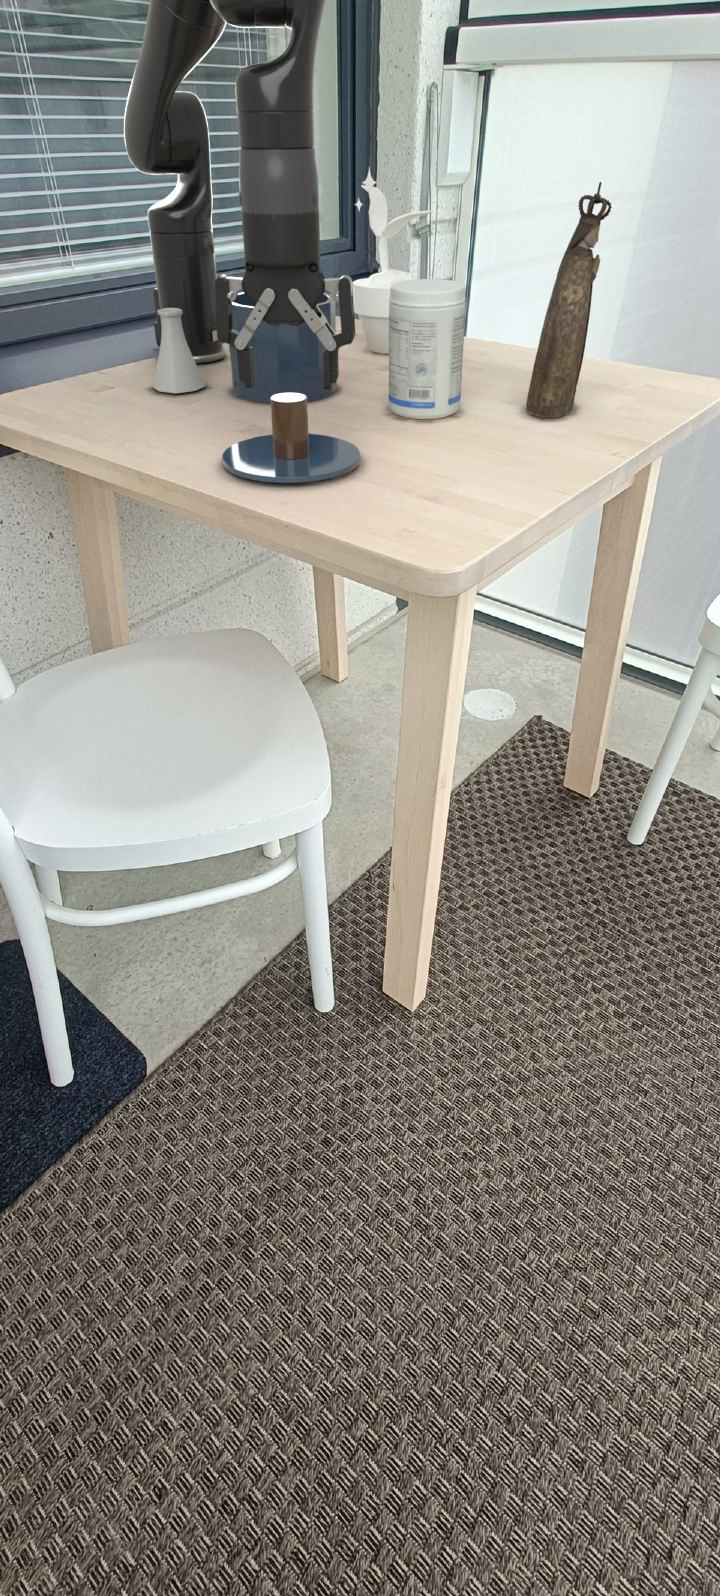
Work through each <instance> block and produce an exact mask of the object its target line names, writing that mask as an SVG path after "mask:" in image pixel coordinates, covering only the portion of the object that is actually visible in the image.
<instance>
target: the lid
mask: <svg viewBox="0 0 720 1596" xmlns="http://www.w3.org/2000/svg"><path fill="white" fill-rule="evenodd" d="M270 401H271V403H270V415H271V432H272V434H266V435H265V434H264V435H260V436H254V437H251V438H247V439H244V440H241V441H237V442H236V443H234V444H232V445H230V446H228V447H226V448H225V450H224V451H223V452H222V456H221V457H222V458H221V460H222V465H223V467H224V469H226V470H227V471H228V472H230V473H231V474H233V475H235V476H238V477H241V478H244V479H247V480H252V481H258V482H264V483H276V484H296V483H308V482H309V483H310V482H317V481H324V480H328V479H332V478H335V477H339V476H342V475H344V474H347V473H349V472H351V471H353V470H354V469H355V468H357V467H358V465H359V464H360V462H361V451H360V449H359V448H358V447H357V446H356V445H355V444H353V443H352V442H350V441H348V440H345V439H342V438H339V437H335V436H330V435H325V434H316V433H309V416H308V415H309V413H308V412H309V411H308V402H307V396H306V395H303V394H300V393H280V394H275V395H273V396H271V398H270Z"/></svg>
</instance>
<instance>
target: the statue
mask: <svg viewBox="0 0 720 1596" xmlns="http://www.w3.org/2000/svg"><path fill="white" fill-rule="evenodd" d="M602 184H603V183H602V181H600V182H599V183H598V187H597V191H596V193H594V194H593V195H591V194H584V195H583V196H581V197H580V199H579V200H578V204H577V206H578V211H579V215H580V218H579V220H578V223H577V226H576V227H575V230H574V232H573V234H572V236H571V238H570V239H569V243H568V245H567V247H566V249H565V252H564V254H563V256H562V259H561V262H560V264H559V267H558V271H557V273H556V278H555V281H554V284H553V287H552V291H551V295H550V298H549V302H548V306H547V309H546V313H545V316H544V320H543V323H542V324H543V325H542V329H541V332H540V337H539V340H538V341H539V342H538V346H537V351H536V353H535V359H534V363H533V367H532V368H533V369H532V373H531V378H530V382H529V387H528V393H527V398H526V402H525V403H526V404H525V407H526V409H525V410H526V411H527V412H528V413H530V414H531V415H533V416H537V417H540V418H549V419H550V418H551V419H552V418H553V419H554V418H562V417H563V416H564V417H565V416H567V415H569V413H572V410H573V406H574V404H575V396H576V393H577V386H578V384H579V383H578V382H579V379H580V374H581V370H582V366H583V360H584V355H585V350H586V343H587V336H588V330H589V322H590V317H591V306H592V296H593V285H594V281H595V279H596V278H597V273H598V272H599V268H600V265H601V259H600V254H598V253H597V254H596V255H595V257H594V253H593V249H594V248H595V246H596V244H597V243H599V233H600V228H601V221H603V220H605V218H606V217H609V215H610V213H611V209H612V203H611V202H610V200H609V199H608V200H607V198H605V197H602V195H601V193H600V192H601V187H602ZM585 200H588V203H587V209H586V212H585V211H584V201H585ZM599 204H601V208H600V210H599V212H598V214H594V213H593V211H594V207H595V205H599Z"/></svg>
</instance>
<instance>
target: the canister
mask: <svg viewBox="0 0 720 1596" xmlns="http://www.w3.org/2000/svg"><path fill="white" fill-rule="evenodd" d="M317 306H318V307H319V309H320V310H321V312H322V313H323V314H324V316H325V317H326V319H327V322H328V323H329V325H330V326H331V328H332V329H333V331H334V332H335V333H336V332H337V319H336V318H337V317H336V313H337V312H336V310H337V309H336V302H335V301H334V300H333V299H332V295H331V293H326V292H324V294H323V295H322V297H321V299H320V300H319V302H318V304H317ZM253 309H254V307H253V305H252V304H251V302H250V301H249V299H248V298H247V296H246V295H245V294H244V292H243V291H242V292H238V296H237V298H236V299H235V300H234V301H232V319H233V329H234V330H236V331H239V332H240V331H241V330H242V328H243V326H244V324H245V322H246V321H247V319H248V317H249V316H250V314H251V312H252V311H253ZM311 320H312V319H311ZM228 345H229V344H228ZM250 347H253V359H254V372H255V385H254V387H253V388H246V387H245V382H241V381H240V378H239V373H238V361H237V351H236V349H235V348H234V347H233V346H232V345H229V347H228V348H229V359H230V370H231V382H232V388H233V393H234V395H235V396H236V397H238V398H240V399H243V400H245V401H249V402H255V403H261V404H271V401H270V398H271V396H273V395H275V394H280V393H300V394H303V395H306V396H307V403H309V402H315V401H319V400H322V399H325V398H328V397H330V396H332V395H333V394H335V393H336V391H337V387H338V382H337V381H338V380H337V381H336V383H333V386H332V388H331V389H325V388H324V359H323V352H324V350H325V347H324V345H323V344H322V342H321V341H320V339H319V338H318V337H317V335H316V334H315V333H314V332H313V331H312V330H311V329H310V327H309V326H308V324H307V323H306V322H304V323H303V324H300V326H291V325H288V324H285V323H284V324H280V325H277V326H273V325H270V324H268V323H266V322H265V321H264V320H263V321H262V323H261V324H260V326H259V328H258V329H257V331H256V332H255V334H254V336H253V337H252V339H251V341H250Z"/></svg>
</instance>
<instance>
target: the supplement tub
mask: <svg viewBox="0 0 720 1596" xmlns="http://www.w3.org/2000/svg"><path fill="white" fill-rule="evenodd" d="M413 279H414V280H406V281H400V282H396V283H394V284H392V285H391V288H390V298H389V301H390V302H389V354H388V408H389V410H390V411H391V412H392V413H393V414H395V415H396V416H400V417H402V418H405V419H406V418H407V419H413V420H436V419H442V418H447V417H449V416H451V415H453V414H455V413H456V412H457V411H458V410H459V409H460V406H461V398H462V397H461V396H462V379H463V362H464V361H463V359H464V343H465V342H464V341H465V324H466V306H467V305H466V303H467V302H466V300H467V298H466V284H464V283H463V282H460V281H457V280H451V279H442V278H441V279H440V278H413Z"/></svg>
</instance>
